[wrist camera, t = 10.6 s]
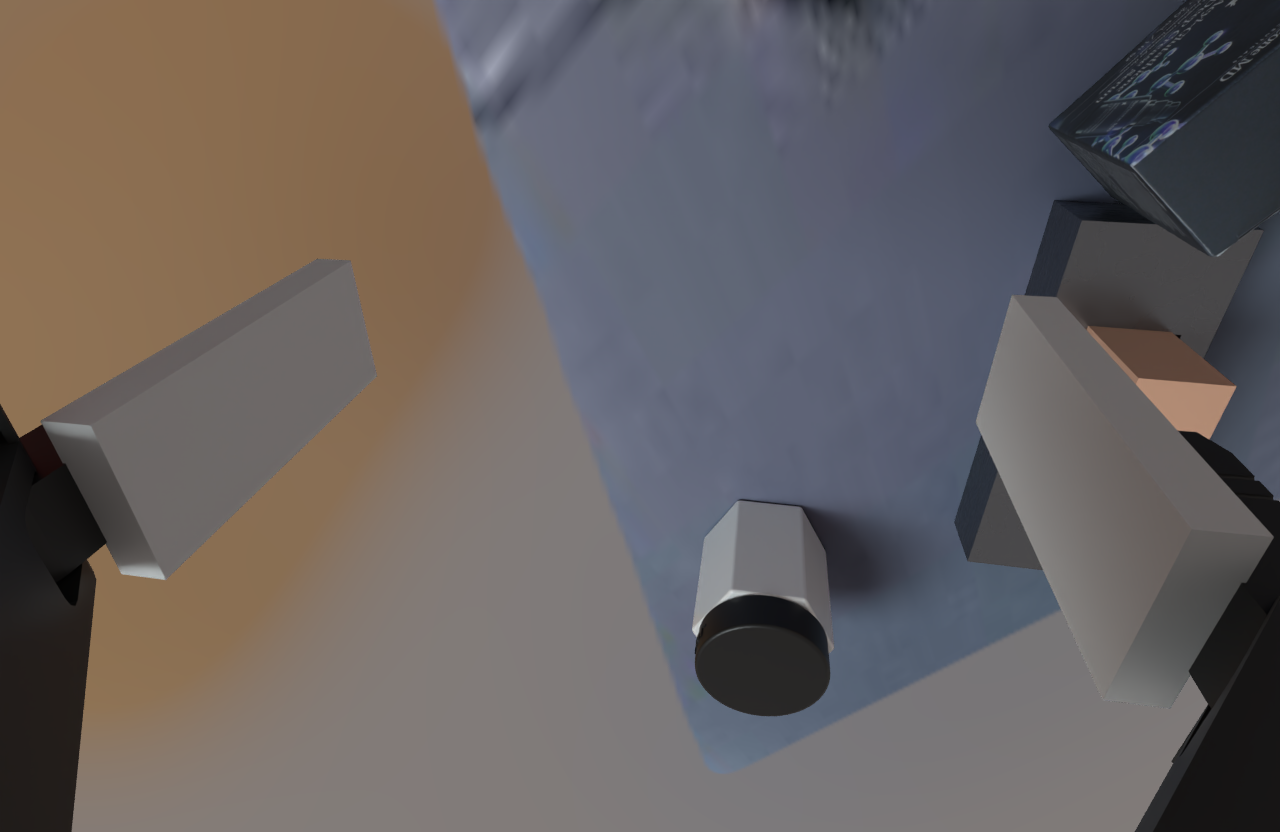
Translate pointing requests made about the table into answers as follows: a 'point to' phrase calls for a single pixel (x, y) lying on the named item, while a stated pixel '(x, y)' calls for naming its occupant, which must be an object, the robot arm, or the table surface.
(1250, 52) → the box
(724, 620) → the jar
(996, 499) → the grey slotted block
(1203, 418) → the orange tan block
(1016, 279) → the table surface
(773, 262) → the table surface
